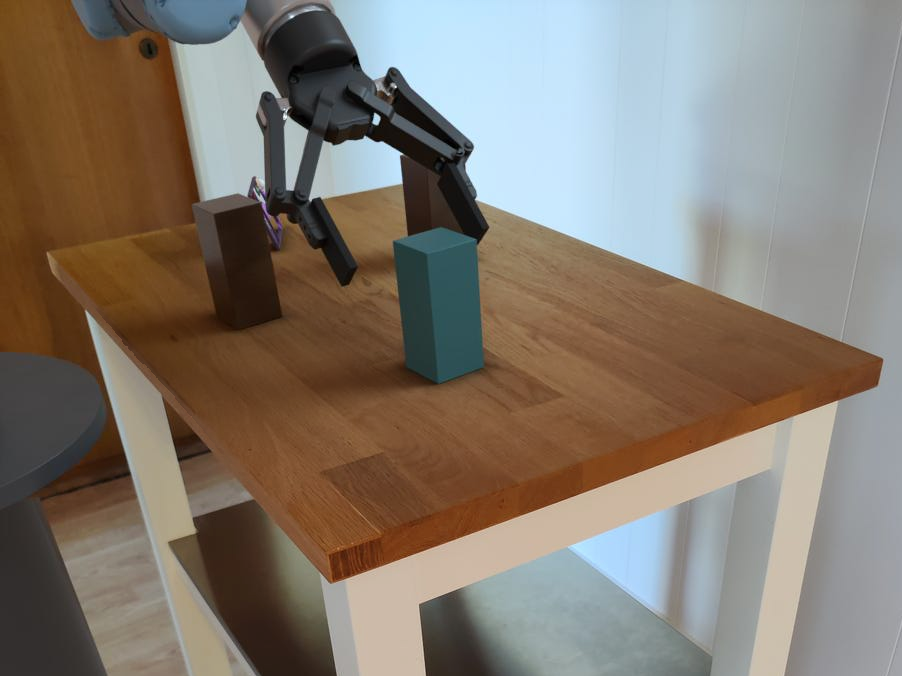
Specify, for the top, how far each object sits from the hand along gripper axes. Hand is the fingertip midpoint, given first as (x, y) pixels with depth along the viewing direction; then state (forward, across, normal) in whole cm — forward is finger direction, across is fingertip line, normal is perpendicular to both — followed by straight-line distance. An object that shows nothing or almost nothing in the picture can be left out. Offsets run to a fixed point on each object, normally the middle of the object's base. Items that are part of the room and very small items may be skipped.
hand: (417, 257), depth 85 cm
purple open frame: (-25, -6, -38) cm, 45 cm away
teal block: (+8, 0, -4) cm, 9 cm away
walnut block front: (-9, +7, -22) cm, 24 cm away
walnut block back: (-9, -17, -22) cm, 29 cm away
